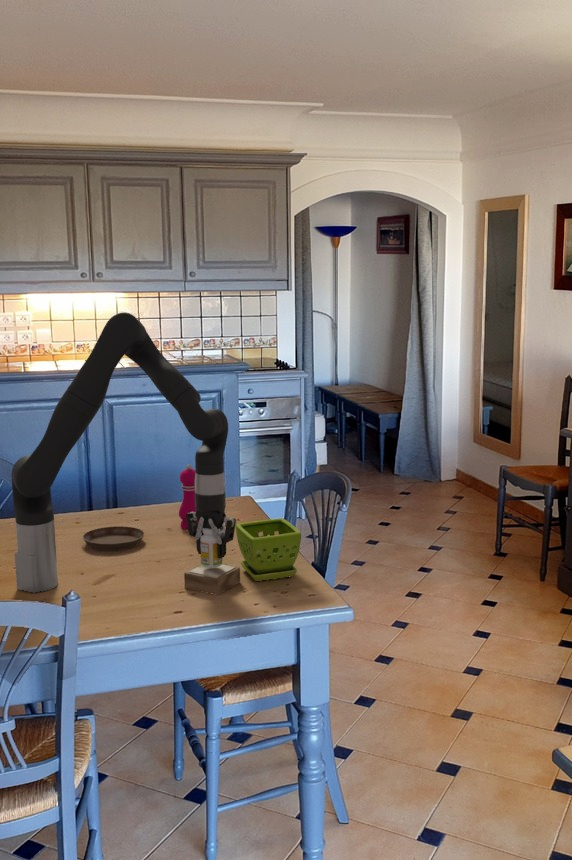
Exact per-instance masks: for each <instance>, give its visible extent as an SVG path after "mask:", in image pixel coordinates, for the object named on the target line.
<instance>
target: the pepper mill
mask: <svg viewBox="0 0 572 860" xmlns="http://www.w3.org/2000/svg"><path fill="white" fill-rule="evenodd" d="M195 473H196V472H195V468H193V465H192V464H190V463H189V464H186V468H185V469H183V470H182V471H181V472H180V475H179V481H180V483H181V490H182V493H183V498H182V501H181V504H180V506H179V511H178V517H179V518H180V520H181V521H180V529H183V530H186V531H189V530H188V524H187V519H186V514H187V513H190V512H192V511H194V512H196V510H197V509H196V508H195ZM198 524H199V521H198V520H197V525H198Z"/></svg>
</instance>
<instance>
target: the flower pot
mask: <svg viewBox="0 0 572 860" xmlns="http://www.w3.org/2000/svg"><path fill="white" fill-rule="evenodd" d="M235 531H236V532H235V533H236V539H237V543H238V546H239V550H240V553H241V555H242V557H243V559H244V560H241V561H240V565H241V566H242V568H243V569H244V570H245V572H247V574H248V575H250V577H251V579H253V580H254V581H255V582H256V581H260V582H263V581H262V580H266V581H270V580H269V579H273V580H278V579H277V578H280V579H284V578H283V577H289V576H291V577H293V576H294V575H295V574H297V571H298V569H297V568H296V567H295V566H294V564H295V563H296V561H297V558H298V555H299V552H300V549H301V542H302V532H301V530H299V529H298V528H297V527H296V526H294V525H293V524H292V523H291V522H289V521H288V520H286V519H285V518H271V519H263V520H255V521H248V522H242V523H237V524H236V525H235ZM276 532H278V534H275V533H276ZM259 533H262V535H259Z"/></svg>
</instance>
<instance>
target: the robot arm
mask: <svg viewBox="0 0 572 860" xmlns="http://www.w3.org/2000/svg"><path fill="white" fill-rule="evenodd" d="M124 355H125V357H127V358H128V359H130V360H131V361H132V362H134V363H135V364H136V365H137V366H138V367H139V368H140V369H141V370H142V371H143V372H144V373H145V374H146V375H147V376H148V378H149V379H150V381H151V382H152V383H153V384H154V386H155V387H156V389H157V390H158V391H159V392H160V393H161V395H162V396H163V398H164V399H166V401H167V402H168V403H169V404H170V406H172V407H173V408H174V409H175V411H177V414H178V416H179V418H180V419H181V422H182V424H183V425H184V427H185V429H186V430H187V432H188V433H189V434H190V435H191V436H192V437H193V438H194V439H196V440H198V441H202V443H201V446H200V447H199V449H198V450H196V452H195V453H194V454H195V456H194V463H195V468H194V470H195V472H196V473H195V508H196V509H197V510H196V512H194V511H192V512H190V513H187V514H186V519H187V524H188V530H187V531H188V534H189V536H190V538H191V537H192V538H195V540H196V541H195V542H196V551H197V554H198V555H201V543H200V539H201V536H202V535H204V534H203V528H208V529H212V531H213V534H214V536H216V538H217V541H218V543H219V544H217V549H218V558H222V559H223V558H224V557H226V556H227V543H229V542H231V541H233V540H234V538H235V537H234V536H235V531H236V523H237V519H236V518H234V517H233V518H230V517H228V516H227V515H226V512H225V510H226V505H227V503H226V477H225V471H224V470H225V468H224V467H225V461H224V456H225V455H224V454H225V450H226V445H227V439H228V435H229V421H228V418H227V415H226V414H225V413H224V411H222V410H221V409H218V408H210V409H207V410H204V408H202V406H201V405H200V402H201V395H200V393H199V392H198V390H197V389H196V388H195V387H194V385H193V384H191V382H190V381H189V380H188V379H187V378H186V377H185V376H184V375H183V374H182V373H181V372H180V371H179V370H178V369H177V368H176V367H175V366H174V365H173V364H172V363H171V362H170V361H169V360H168V359H167V358H166V357H165V356H164V355H163V354H162V352H161V351H160V350H159V349H158V347H157V346H156V345H155V343H154V341H153V340H152V338H151V337H150V335H149V334H148V332H147V330H146V327H145V325H143V323H142V322H141V321H140V320H139V319H138V318H137V317H136V316H135V315H134V314H132V313H130V312H125V311H121V312H118V313H116V314H114V315H113V316H111V317H110V318H109V319H108V321H107V322H106V323H105V325H104V326H103V329H102V330H101V332H100V335H99V337H98V339H97V340H96V343H95V344H94V347H93V348H92V350H91V352H90V354H89V356H88V357H87V358H86V360H85V361H84V363H83V364H82V366H81V368H80V369H79V370H78V372H77V374H76V375H75V377H74V378H73V380H72V381H71V383H70V384H69V385H68V387H67V389H66V390H65V392H64V393H63V394H62V396H61V398H60V399H59V401H58V402H57V403H56V406H55V408H54V410H53V412H52V414H51V417H50V420H49V422H48V425H47V428H46V431H45V432H44V435H43V437H42V438H41V441H40V442H39V444H38V445H37V446H36V448H34V450H33V452H32V453H31V454H29V455H25V456H24V455H23V457H22V456H21V457H20V458H18V460H17V461H16V462H14V465H13V466H12V469H11V488H12V501H13V502H12V503H13V511H14V516H15V517H14V518H15V531H16V532H15V533H16V545H17V551H16V552H15V553H14V565H15V578H16V579H15V580H16V590H18V589H19V590H20V591H22V590H24V591H23V592H26V591H28V592H27V593H30V592H33V593H32V594H36V593H35V592H37V593H40V591H41V592H45V591H46V592H47V591H50V590H52V588H53V589H55V588H56V587H58V585H59V582H58V581H59V580H58V565H57V563H58V562H57V546H56V545H57V544H56V529H55V511H54V506H53V500H52V492H51V491H52V490H51V489H52V488H51V487H52V486H53V484H54V483H55V480H56V478H57V475H58V474H59V472H60V471H61V468H62V466H63V464H64V462H65V461H66V459H67V457H68V455H69V454H70V452H71V451H72V449H73V448H74V446H75V445H76V444H77V443H78V441H79V439H81V437H82V435H83V434H84V433H85V431H86V430H87V428H88V427H89V425H90V424H91V423H92V421H93V419H94V418H95V416H96V415H97V414H98V411H99V410H100V409H101V407H102V405H103V404H104V401H105V399H106V395H107V392H108V389H109V385H110V382H111V378H112V376H113V373H114V371H115V369H116V367H117V365H119V363H120V362H121V360H122V358H123V357H124ZM197 520H198V521H199V524H198V525H197ZM218 529H219V531H218Z"/></svg>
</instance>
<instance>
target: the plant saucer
mask: <svg viewBox="0 0 572 860" xmlns="http://www.w3.org/2000/svg"><path fill="white" fill-rule="evenodd" d="M144 537H145V531H144V530H142V529H140V528H137V527H132V526H122V525H121V526H120V525H119V526H106V527H99V528H96V529H92V530H88V531H87V532H85V533H84V534H83V535H82V539H83V541H84V542H85V544H87V546H88V547H90V548H91V549H94V550H96V551H105V552H114V551H115V552H116V551H124V550H127V549H130V548H134V547H136V546H138V544H140V542H141V541H142V539H143V538H144Z"/></svg>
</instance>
